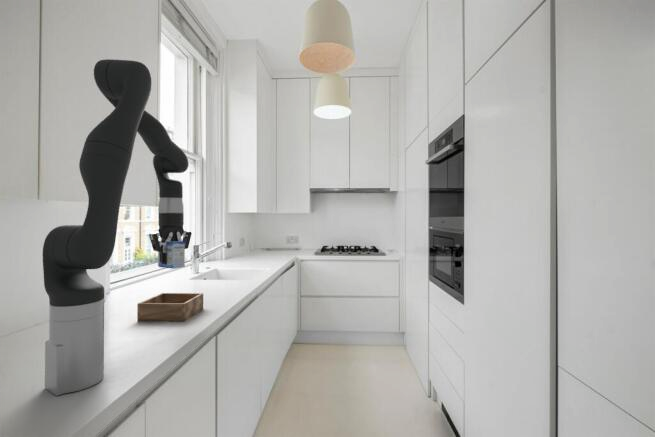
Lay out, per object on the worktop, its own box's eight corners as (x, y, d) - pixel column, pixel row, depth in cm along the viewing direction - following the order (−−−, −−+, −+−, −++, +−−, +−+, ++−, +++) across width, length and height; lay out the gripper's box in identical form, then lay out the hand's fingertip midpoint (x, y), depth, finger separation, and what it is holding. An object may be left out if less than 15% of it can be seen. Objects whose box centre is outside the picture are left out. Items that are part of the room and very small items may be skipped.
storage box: (184, 321, 110) (184, 304, 110) (137, 321, 110) (137, 303, 111) (203, 308, 126) (203, 293, 126) (162, 308, 126) (162, 293, 127)
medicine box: (157, 267, 109) (157, 241, 109) (169, 265, 113) (169, 240, 113) (173, 269, 105) (173, 242, 105) (185, 267, 109) (185, 241, 109)
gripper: (156, 211, 101) (156, 267, 101) (197, 211, 113) (197, 261, 113) (143, 211, 105) (143, 265, 105) (183, 211, 117) (184, 259, 117)
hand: (171, 262), depth 109 cm, fingers closed on medicine box, 4 cm apart
